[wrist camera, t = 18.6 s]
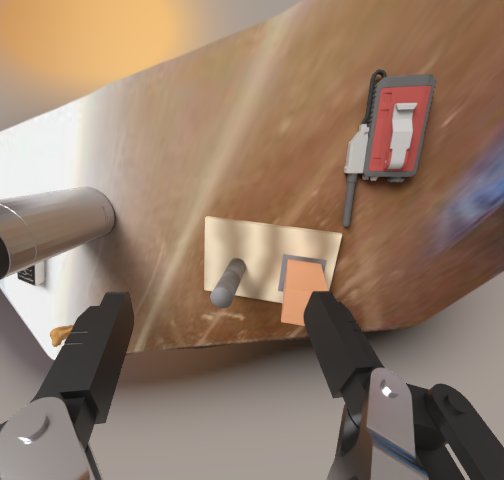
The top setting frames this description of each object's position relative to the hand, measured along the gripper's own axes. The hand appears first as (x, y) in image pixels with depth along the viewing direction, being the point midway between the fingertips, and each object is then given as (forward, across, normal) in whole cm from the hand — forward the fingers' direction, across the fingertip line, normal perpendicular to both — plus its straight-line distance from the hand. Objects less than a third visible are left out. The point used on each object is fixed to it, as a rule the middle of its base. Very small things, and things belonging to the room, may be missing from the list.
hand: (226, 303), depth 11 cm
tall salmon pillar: (+20, -16, +17) cm, 30 cm away
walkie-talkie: (+24, -23, -2) cm, 33 cm away
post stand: (+23, -10, +17) cm, 31 cm away
